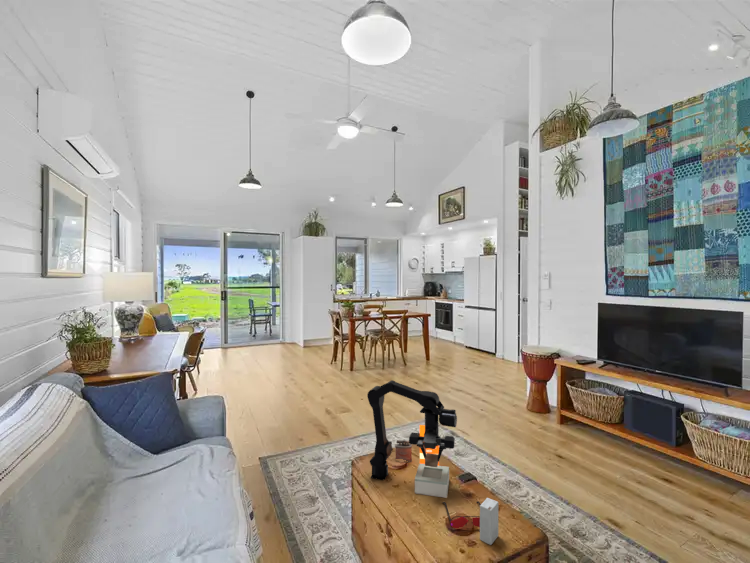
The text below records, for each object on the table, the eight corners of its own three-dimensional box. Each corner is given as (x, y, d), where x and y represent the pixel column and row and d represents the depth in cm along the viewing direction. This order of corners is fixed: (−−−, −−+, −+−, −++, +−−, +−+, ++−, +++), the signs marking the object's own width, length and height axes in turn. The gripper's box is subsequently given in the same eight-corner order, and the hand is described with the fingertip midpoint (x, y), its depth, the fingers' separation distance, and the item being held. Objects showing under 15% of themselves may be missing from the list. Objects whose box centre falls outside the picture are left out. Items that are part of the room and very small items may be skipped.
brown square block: (424, 465, 154) (424, 458, 154) (427, 459, 159) (427, 452, 159) (436, 467, 152) (436, 460, 152) (438, 461, 157) (438, 454, 157)
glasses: (450, 532, 129) (450, 518, 129) (442, 503, 145) (442, 490, 145) (490, 532, 129) (490, 517, 129) (477, 502, 145) (477, 490, 145)
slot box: (414, 493, 152) (414, 478, 151) (419, 476, 164) (419, 463, 164) (447, 497, 148) (446, 483, 148) (449, 480, 161) (449, 466, 161)
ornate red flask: (412, 459, 180) (411, 438, 180) (412, 462, 177) (411, 441, 176) (395, 458, 181) (395, 438, 181) (395, 462, 177) (394, 441, 177)
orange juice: (420, 463, 176) (419, 421, 176) (438, 464, 175) (438, 422, 174) (419, 471, 168) (419, 428, 168) (439, 473, 167) (438, 429, 167)
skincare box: (486, 530, 129) (486, 496, 129) (499, 536, 126) (499, 501, 126) (479, 540, 124) (478, 504, 124) (491, 546, 121) (491, 510, 121)
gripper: (406, 429, 150) (406, 467, 151) (453, 433, 146) (453, 472, 146) (410, 418, 161) (411, 454, 161) (454, 422, 156) (454, 459, 157)
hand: (432, 460), depth 156 cm, fingers closed on brown square block, 5 cm apart
